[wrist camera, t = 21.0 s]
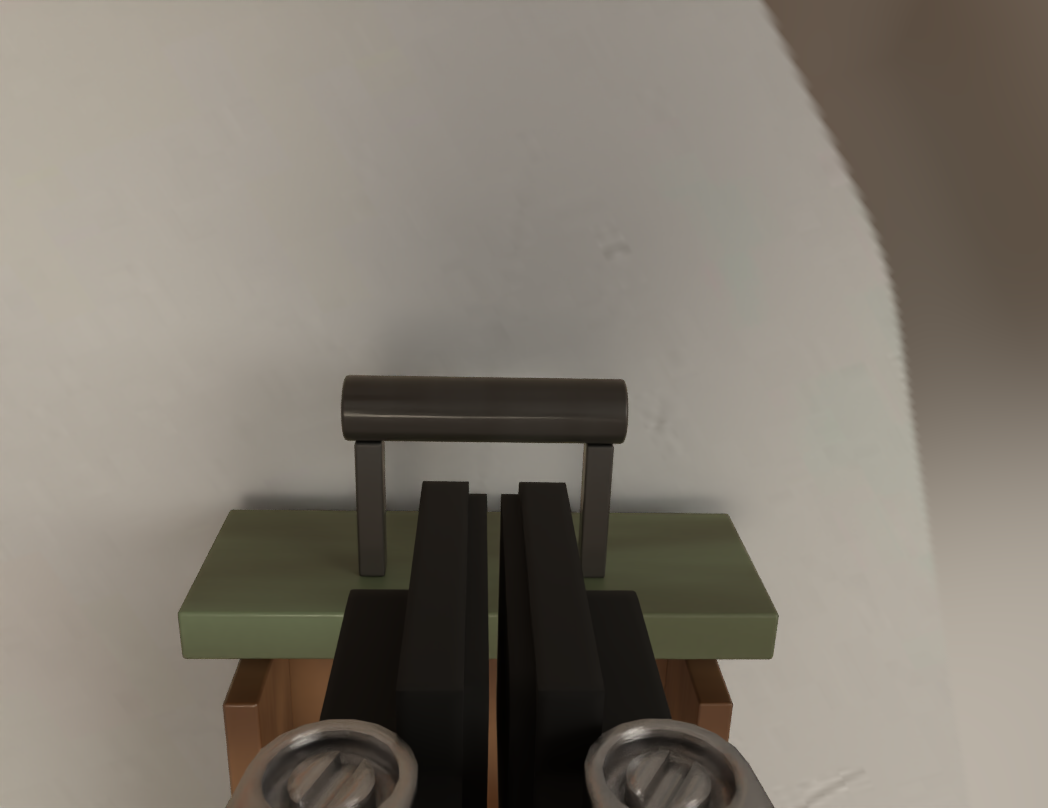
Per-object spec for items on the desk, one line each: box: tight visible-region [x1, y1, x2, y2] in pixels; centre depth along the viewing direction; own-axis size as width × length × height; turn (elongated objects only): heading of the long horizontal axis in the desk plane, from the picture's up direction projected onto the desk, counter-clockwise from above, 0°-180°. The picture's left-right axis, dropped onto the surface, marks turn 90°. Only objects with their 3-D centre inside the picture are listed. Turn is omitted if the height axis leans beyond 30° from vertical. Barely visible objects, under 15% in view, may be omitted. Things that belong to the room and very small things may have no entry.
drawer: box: [178, 375, 779, 808], centre depth 25 cm, size 18×13×5 cm
